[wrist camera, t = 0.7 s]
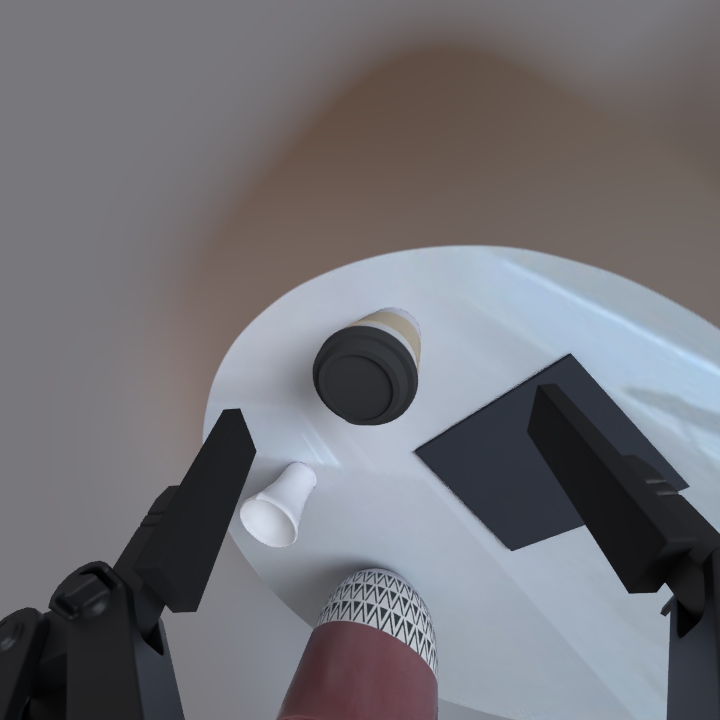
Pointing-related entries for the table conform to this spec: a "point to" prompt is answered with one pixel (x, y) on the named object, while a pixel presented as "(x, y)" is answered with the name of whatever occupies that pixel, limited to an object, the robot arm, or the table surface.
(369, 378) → the coffee cup
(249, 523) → the cup
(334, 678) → the planter
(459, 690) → the table surface
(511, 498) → the mat
